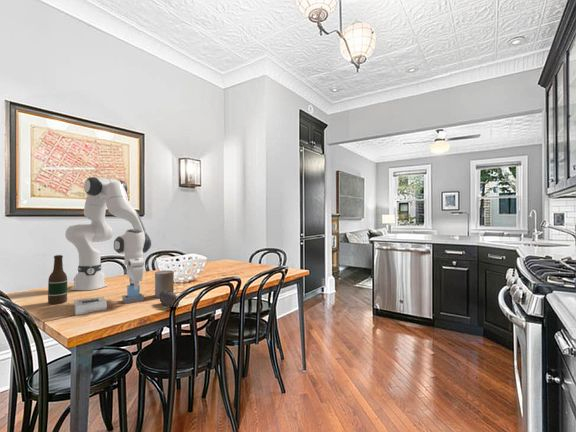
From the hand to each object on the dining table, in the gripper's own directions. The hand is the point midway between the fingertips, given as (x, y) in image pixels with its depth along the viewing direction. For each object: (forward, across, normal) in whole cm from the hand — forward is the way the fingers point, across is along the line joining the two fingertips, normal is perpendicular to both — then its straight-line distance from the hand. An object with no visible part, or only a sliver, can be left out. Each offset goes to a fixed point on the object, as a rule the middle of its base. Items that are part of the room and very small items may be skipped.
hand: (133, 287), depth 158 cm
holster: (+7, 0, 0) cm, 7 cm away
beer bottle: (+7, -20, -31) cm, 38 cm away
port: (+7, +2, -19) cm, 21 cm away
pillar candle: (+8, -2, +16) cm, 18 cm away
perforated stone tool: (+8, +19, +13) cm, 24 cm away
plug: (+7, 0, 0) cm, 7 cm away
